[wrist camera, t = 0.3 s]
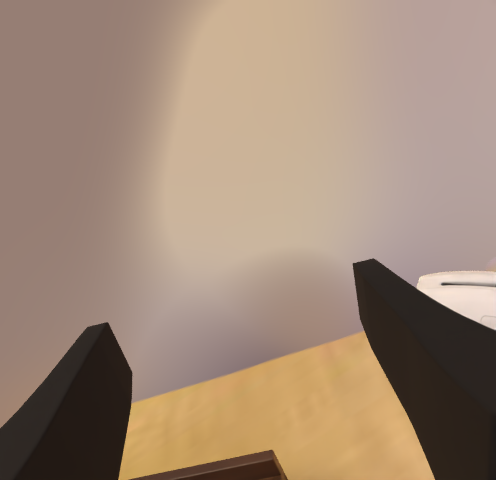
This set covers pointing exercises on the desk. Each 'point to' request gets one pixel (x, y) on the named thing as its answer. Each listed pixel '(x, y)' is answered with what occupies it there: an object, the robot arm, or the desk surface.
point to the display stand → (229, 469)
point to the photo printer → (464, 293)
